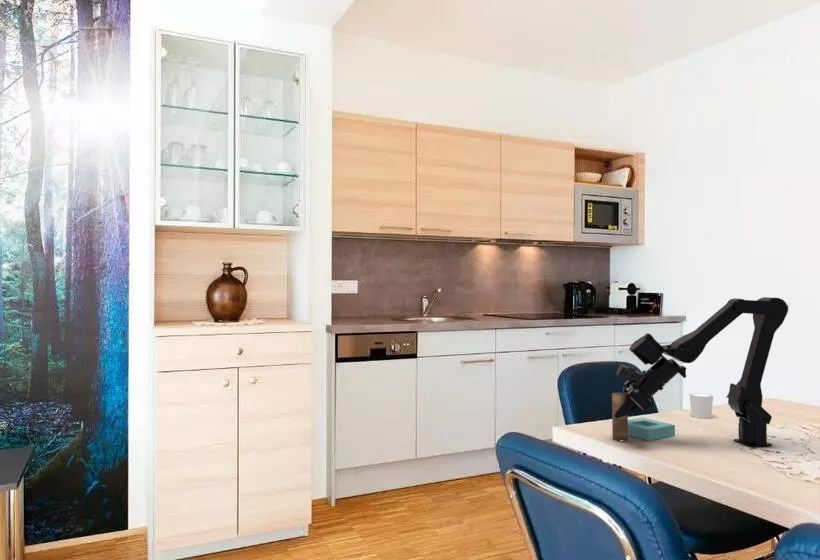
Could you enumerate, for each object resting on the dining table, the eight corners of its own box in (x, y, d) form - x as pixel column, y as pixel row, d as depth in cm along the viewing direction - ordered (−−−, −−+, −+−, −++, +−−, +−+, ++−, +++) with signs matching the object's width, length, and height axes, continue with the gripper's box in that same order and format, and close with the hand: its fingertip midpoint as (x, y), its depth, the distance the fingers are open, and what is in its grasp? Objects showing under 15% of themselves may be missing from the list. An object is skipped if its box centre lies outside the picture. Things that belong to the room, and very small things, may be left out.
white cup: (689, 417, 191) (688, 395, 191) (690, 413, 197) (690, 392, 197) (713, 419, 187) (713, 397, 187) (713, 415, 193) (713, 393, 194)
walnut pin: (630, 440, 163) (630, 394, 163) (617, 441, 162) (616, 395, 162) (623, 437, 167) (622, 392, 167) (609, 437, 166) (609, 392, 166)
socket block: (674, 435, 168) (674, 424, 168) (648, 440, 163) (648, 429, 163) (642, 427, 178) (642, 417, 178) (616, 432, 172) (616, 422, 172)
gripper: (631, 351, 173) (592, 387, 175) (637, 358, 155) (593, 399, 158) (661, 379, 170) (620, 416, 173) (670, 390, 152) (625, 431, 155)
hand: (614, 415), depth 165 cm, fingers open, 5 cm apart
